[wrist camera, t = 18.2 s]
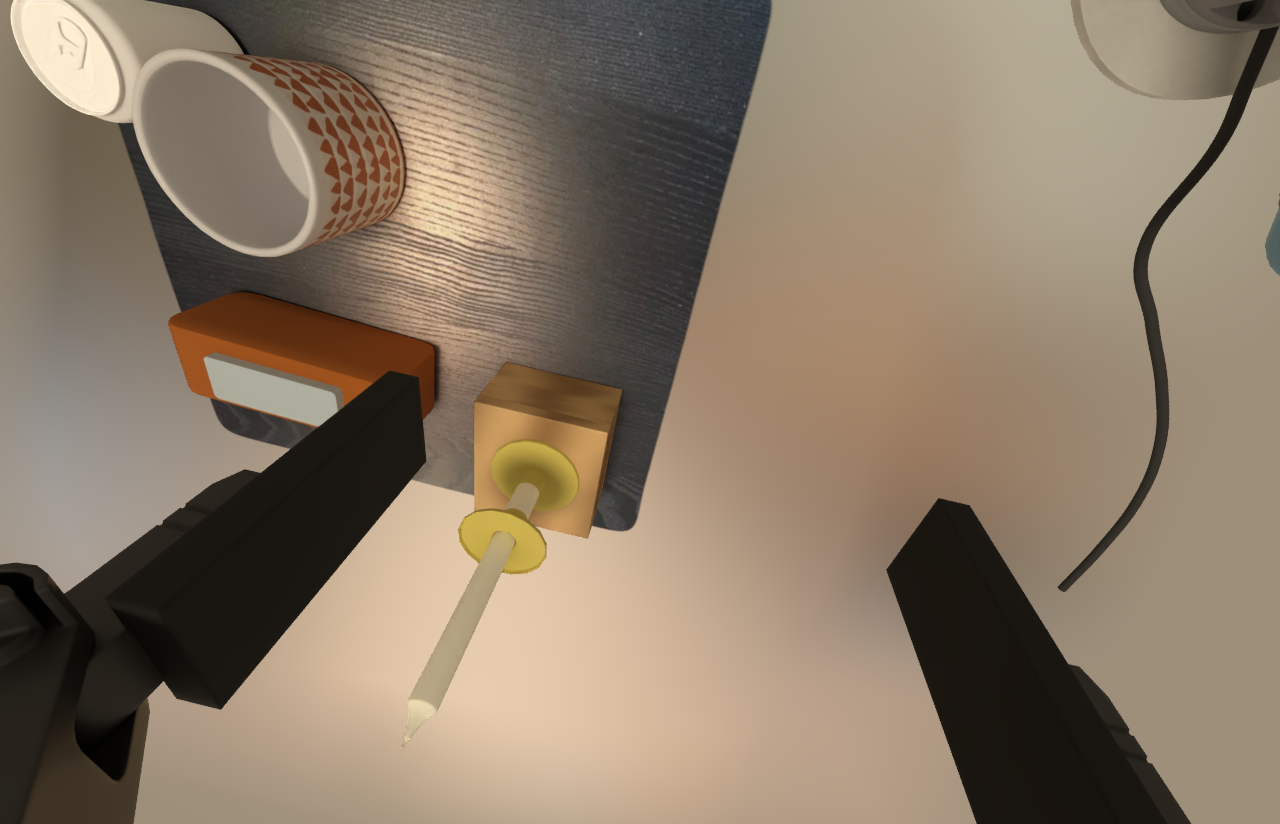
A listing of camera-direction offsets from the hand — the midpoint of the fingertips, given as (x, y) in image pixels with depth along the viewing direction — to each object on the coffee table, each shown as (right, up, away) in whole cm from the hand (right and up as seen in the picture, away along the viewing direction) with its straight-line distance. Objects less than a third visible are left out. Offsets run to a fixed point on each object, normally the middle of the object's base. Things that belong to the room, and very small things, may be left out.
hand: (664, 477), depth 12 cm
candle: (-12, -5, +41) cm, 43 cm away
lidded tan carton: (-11, -1, +48) cm, 49 cm away
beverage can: (-39, +33, +31) cm, 60 cm away
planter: (-30, +27, +34) cm, 52 cm away
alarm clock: (-36, +10, +46) cm, 59 cm away
